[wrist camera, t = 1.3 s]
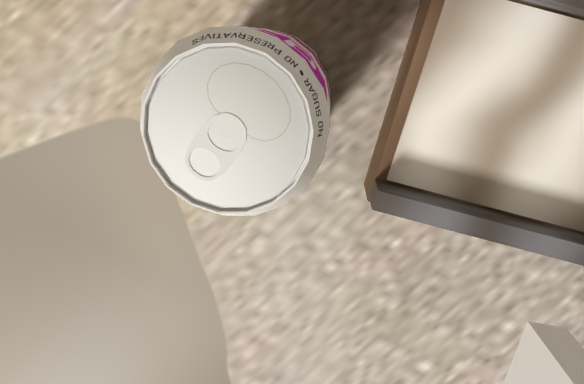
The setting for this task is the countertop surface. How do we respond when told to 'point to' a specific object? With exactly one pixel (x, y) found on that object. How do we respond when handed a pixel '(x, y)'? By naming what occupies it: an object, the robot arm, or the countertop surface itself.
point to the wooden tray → (489, 125)
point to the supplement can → (236, 118)
